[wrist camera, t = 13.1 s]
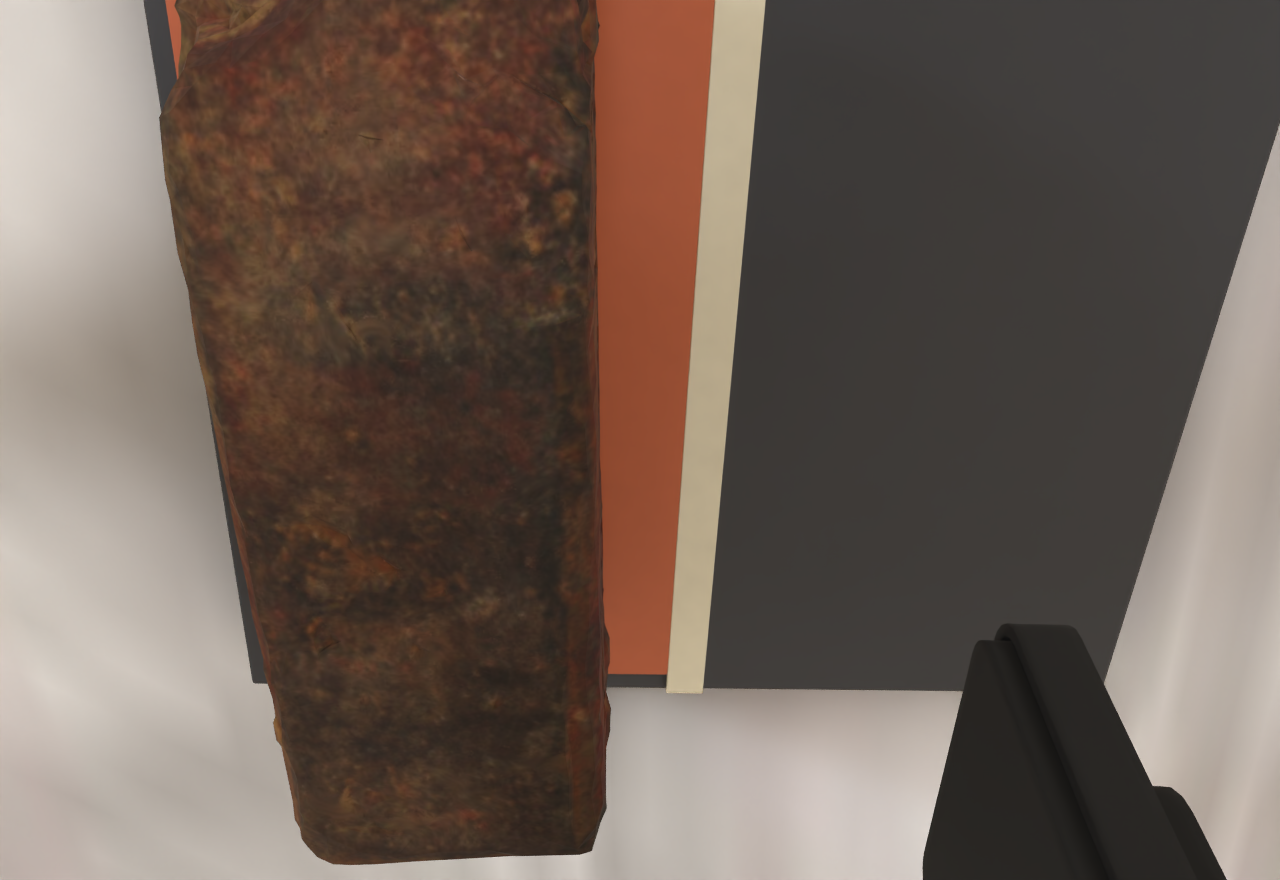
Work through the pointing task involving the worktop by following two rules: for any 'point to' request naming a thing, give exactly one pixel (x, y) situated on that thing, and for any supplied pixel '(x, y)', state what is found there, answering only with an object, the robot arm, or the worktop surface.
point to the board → (895, 318)
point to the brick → (407, 403)
